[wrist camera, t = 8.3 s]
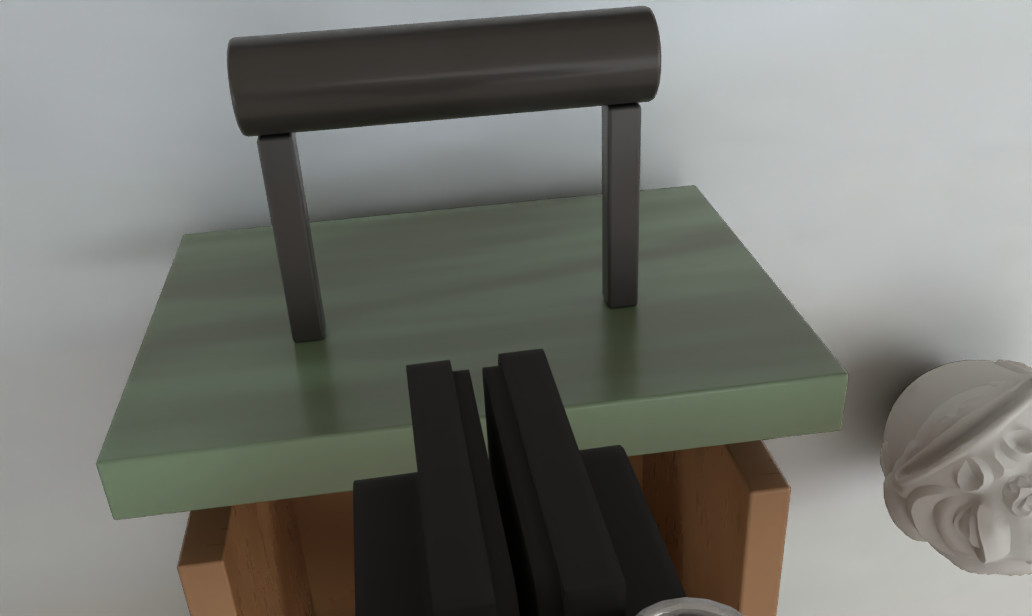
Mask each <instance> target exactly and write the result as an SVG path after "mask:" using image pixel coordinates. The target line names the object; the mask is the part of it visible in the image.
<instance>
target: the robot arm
mask: <svg viewBox="0 0 1032 616" xmlns="http://www.w3.org/2000/svg"><path fill="white" fill-rule="evenodd" d="M406 373H407V382H408V391H409V400H410V409H411V418H412V427H413V436H414V445H415V454H416V463H417V472H414V473H407V474H399V475H392V476H384V477H377V478H370V479H362V480H355V481H354V482H353V522H354V576H355V616H745V615H743V614H742V613H740V612H739V611H737V610H735V609H734V608H732V607H730V606H727V605H724V604H721V603H718V602H715V601H712V600H709V599H700V598H689V597H687V596H686V594H685V591H684V589H683V587H682V584H681V582H680V579H679V577H678V575H677V572H676V570H675V567H674V565H673V563H672V560H671V558H670V556H669V553H668V551H667V548H666V546H665V544H664V541H663V539H662V536H661V534H660V532H659V529H658V527H657V525H656V522H655V520H654V517H653V515H652V513H651V510H650V508H649V506H648V503H647V501H646V498H645V496H644V494H643V491H642V489H641V486H640V484H639V482H638V479H637V477H636V475H635V472H634V470H633V467H632V465H631V463H630V460H629V458H628V456H627V454H626V452H625V450H624V448H623V447H622V446H621V445H614V446H606V447H599V448H591V449H584V450H579V448H578V445H577V443H576V440H575V437H574V434H573V431H572V428H571V426H570V423H569V420H568V417H567V414H566V411H565V408H564V406H563V403H562V400H561V397H560V394H559V391H558V389H557V386H556V383H555V380H554V377H553V374H552V372H551V369H550V366H549V363H548V360H547V357H546V355H545V352H544V350H543V349H542V348H541V349H533V350H524V351H516V352H508V353H500V354H498V366H491V367H483V369H482V375H483V389H484V403H485V416H486V429H487V443H488V454H487V450H486V445H485V441H484V436H483V431H482V427H481V422H480V417H479V413H478V408H477V404H476V399H475V394H474V390H473V385H472V380H471V376H470V372H469V369H466V370H458V371H452V367H451V362H450V360H443V361H435V362H427V363H418V364H410V365H406ZM488 456H489V459H488Z"/></svg>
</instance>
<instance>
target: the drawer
mask: <svg viewBox="0 0 1032 616" xmlns="http://www.w3.org/2000/svg"><path fill="white" fill-rule="evenodd" d="M227 69H228V80H229V87H230V94H231V100H232V105H233V109H234V113H235V117H236V121H237V124H238V126H239V128H240V130H241V132H242V134H243V135H245V136H258V140H257V145H258V151H259V157H260V162H261V168H262V173H263V179H264V184H265V190H266V195H267V201H268V206H269V212H270V217H271V223H272V226H267V227H257V228H246V229H236V230H226V231H215V232H205V233H195V234H185V235H183V237H182V239H181V242H180V245H179V247H178V250H177V252H176V255H175V258H174V260H173V263H172V266H171V268H170V271H169V273H168V276H167V279H166V281H165V284H164V286H163V289H162V292H161V294H160V297H159V300H158V302H157V305H156V307H155V310H154V313H153V315H152V318H151V320H150V323H149V326H148V328H147V331H146V334H145V336H144V339H143V341H142V344H141V347H140V349H139V352H138V354H137V357H136V360H135V362H134V365H133V368H132V370H131V373H130V375H129V378H128V381H127V383H126V386H125V388H124V391H123V394H122V396H121V399H120V402H119V404H118V407H117V409H116V412H115V415H114V417H113V420H112V422H111V425H110V428H109V430H108V433H107V436H106V438H105V441H104V443H103V446H102V449H101V451H100V454H99V456H98V459H97V462H96V466H97V469H98V472H99V475H100V478H101V481H102V485H103V488H104V491H105V494H106V497H107V500H108V503H109V507H110V510H111V513H112V516H113V518H114V520H121V519H129V518H137V517H145V516H153V515H161V514H169V513H177V512H185V511H190V513H189V518H188V522H187V526H186V531H185V535H184V539H183V544H182V548H181V552H180V557H179V561H178V565H177V569H178V573H179V576H180V580H181V583H182V587H183V590H184V594H185V597H186V601H187V604H188V608H189V611H190V615H191V616H355V576H354V522H353V482H354V481H355V480H362V479H370V478H377V477H384V476H392V475H399V474H407V473H414V472H417V463H416V454H415V445H414V436H413V427H412V418H411V409H410V400H409V391H408V382H407V373H406V365H410V364H418V363H427V362H435V361H443V360H450V362H451V367H452V371H458V370H466V369H469V372H470V376H471V380H472V385H473V390H474V394H475V399H476V404H477V408H478V413H479V417H480V422H481V427H482V431H483V436H484V441H485V445H486V450H487V454H488V443H487V429H486V416H485V403H484V389H483V375H482V369H483V367H491V366H498V354H500V353H508V352H516V351H524V350H533V349H541V348H542V349H543V350H544V352H545V355H546V357H547V360H548V363H549V366H550V369H551V372H552V374H553V377H554V380H555V383H556V386H557V389H558V391H559V394H560V397H561V400H562V403H563V406H564V408H565V411H566V414H567V417H568V420H569V423H570V426H571V428H572V431H573V434H574V437H575V440H576V443H577V445H578V448H579V450H584V449H591V448H599V447H606V446H614V445H621V446H622V447H623V448H624V450H625V452H626V454H627V456H628V458H629V460H630V463H631V465H632V467H633V470H634V472H635V475H636V477H637V479H638V482H639V484H640V486H641V489H642V491H643V494H644V496H645V498H646V501H647V503H648V506H649V508H650V510H651V513H652V515H653V517H654V520H655V522H656V525H657V527H658V529H659V532H660V534H661V536H662V539H663V541H664V544H665V546H666V548H667V551H668V553H669V556H670V558H671V560H672V563H673V565H674V567H675V570H676V572H677V575H678V577H679V579H680V582H681V584H682V587H683V589H684V591H685V594H686V596H687V597H689V598H700V599H709V600H712V601H715V602H718V603H721V604H724V605H727V606H730V607H732V608H734V609H735V610H737V611H739V612H740V613H742V614H743V615H745V616H776V613H777V604H778V596H779V587H780V578H781V570H782V561H783V552H784V544H785V535H786V526H787V518H788V509H789V501H790V492H791V488H790V486H789V484H788V482H787V481H786V479H785V477H784V476H783V474H782V472H781V471H780V469H779V467H778V466H777V464H776V462H775V461H774V459H773V457H772V456H771V454H770V452H769V451H768V449H767V447H766V446H765V444H764V442H763V441H762V440H766V439H774V438H782V437H790V436H798V435H806V434H814V433H822V432H830V431H838V430H840V429H841V426H842V419H843V412H844V405H845V398H846V391H847V384H848V377H849V376H848V373H847V372H846V370H845V369H844V368H843V367H842V365H841V364H840V363H839V362H838V360H837V359H836V358H835V357H834V355H833V354H832V353H831V352H830V351H829V349H828V348H827V347H826V346H825V344H824V343H823V342H822V341H821V339H820V338H819V337H818V336H817V335H816V333H815V332H814V331H813V330H812V328H811V327H810V326H809V325H808V323H807V322H806V321H805V320H804V319H803V317H802V316H801V315H800V314H799V312H798V311H797V310H796V309H795V307H794V306H793V305H792V304H791V303H790V301H789V300H788V299H787V298H786V296H785V295H784V294H783V293H782V291H781V290H780V289H779V288H778V287H777V285H776V284H775V283H774V282H773V280H772V279H771V278H770V277H769V275H768V274H767V273H766V272H765V271H764V269H763V268H762V267H761V266H760V264H759V263H758V262H757V261H756V259H755V258H754V257H753V256H752V255H751V253H750V252H749V251H748V250H747V248H746V247H745V246H744V245H743V243H742V242H741V241H740V240H739V239H738V237H737V236H736V235H735V234H734V232H733V231H732V230H731V229H730V227H729V226H728V225H727V224H726V223H725V221H724V220H723V219H722V218H721V216H720V215H719V214H718V213H717V211H716V210H715V209H714V208H713V207H712V205H711V204H710V203H709V202H708V200H707V199H706V198H705V197H704V195H703V194H702V193H701V192H700V191H699V189H698V188H697V187H696V186H694V185H692V186H682V187H671V188H661V189H651V190H640V146H641V107H640V105H639V104H638V102H649V101H651V100H653V99H654V98H655V96H656V94H657V91H658V87H659V83H660V76H661V44H660V36H659V30H658V26H657V22H656V19H655V16H654V14H653V12H652V10H651V9H650V8H649V7H646V6H636V7H624V8H611V9H598V10H585V11H572V12H559V13H546V14H533V15H520V16H507V17H494V18H481V19H468V20H455V21H443V22H430V23H417V24H404V25H391V26H378V27H365V28H352V29H339V30H326V31H313V32H300V33H287V34H274V35H262V36H249V37H236V38H232V39H230V40H229V43H228V48H227ZM592 106H602V194H599V195H588V196H578V197H568V198H557V199H547V200H537V201H526V202H516V203H505V204H495V205H485V206H474V207H464V208H454V209H443V210H433V211H423V212H412V213H402V214H391V215H381V216H371V217H360V218H350V219H340V220H329V221H319V222H309V217H308V211H307V204H306V198H305V192H304V186H303V179H302V173H301V167H300V161H299V155H298V148H297V142H296V136H295V132H306V131H317V130H329V129H340V128H352V127H363V126H374V125H386V124H397V123H409V122H420V121H432V120H443V119H455V118H466V117H478V116H489V115H500V114H512V113H523V112H535V111H546V110H558V109H569V108H581V107H592ZM488 459H489V456H488Z"/></svg>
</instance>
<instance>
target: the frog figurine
mask: <svg viewBox="0 0 1032 616" xmlns="http://www.w3.org/2000/svg"><path fill="white" fill-rule="evenodd" d="M881 448H882V449H881V452H880V464H881V467H882V470H883V473H884V476H885V481H884V499H885V504H886V507H887V509H888V512H889V514H890V516H891V518H892V520H893V522H894V523H895V524H896V526H897V527H898V528H899V529H900V530H901V531H902V532H903V533H904V534H905V535H907V536H908V537H910V538H912V539H914V540H917V541H923V542H929V543H930V545H931V546H932V547H933V548H934V549H935V550H937V551H938V552H939V553H940V554H942V555H944V556H945V557H946V558H947V559H949V560H950V561H951V562H952V563H953V564H954V565H956V566H957V567H959V568H960V569H962V570H965V571H968V572H970V573H977V574H988V575H989V574H1001V575H1009V576H1012V575H1020V576H1021V575H1024V574H1032V368H1030V367H1028V366H1026V365H1025V364H1023V363H1020V362H1014V361H1009V360H1008V361H1004V360H998V361H996V362H994V361H987V360H964V361H957V362H952V363H949V364H945V365H942V366H939V367H937V368H935V369H933V370H931V371H928V372H927V373H925V374H923V375H922V376H920V377H919V378H917V379H916V380H915V381H914V382H912V383H911V384H910V385H909V386H908V387H907V388H906V389H905V390H904V391H903V393H902V394H901V395H900V396H899V398H898V399H897V400H896V402H895V404H894V405H893V407H892V409H891V411H890V414H889V416H888V419H887V422H886V426H885V430H884V441H883V444H882V445H881Z"/></svg>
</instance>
